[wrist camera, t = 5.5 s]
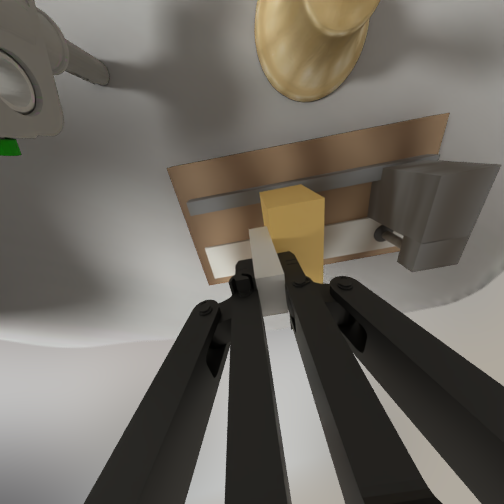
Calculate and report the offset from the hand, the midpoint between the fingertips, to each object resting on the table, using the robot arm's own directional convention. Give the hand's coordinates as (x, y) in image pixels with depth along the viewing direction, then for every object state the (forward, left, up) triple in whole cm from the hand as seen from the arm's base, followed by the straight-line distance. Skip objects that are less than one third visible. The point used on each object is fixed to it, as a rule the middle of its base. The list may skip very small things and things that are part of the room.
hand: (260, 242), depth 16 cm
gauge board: (+5, 0, -6) cm, 8 cm away
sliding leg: (+2, 0, -3) cm, 4 cm away
